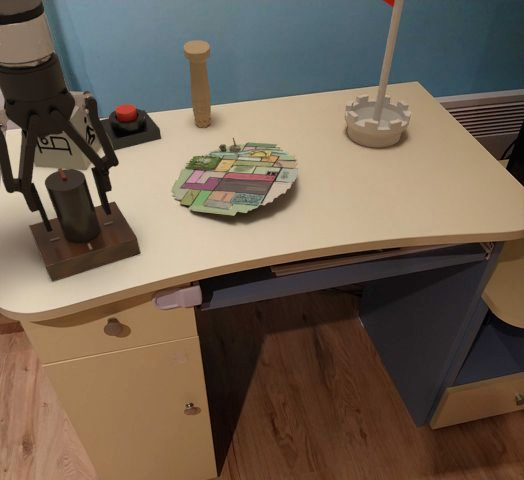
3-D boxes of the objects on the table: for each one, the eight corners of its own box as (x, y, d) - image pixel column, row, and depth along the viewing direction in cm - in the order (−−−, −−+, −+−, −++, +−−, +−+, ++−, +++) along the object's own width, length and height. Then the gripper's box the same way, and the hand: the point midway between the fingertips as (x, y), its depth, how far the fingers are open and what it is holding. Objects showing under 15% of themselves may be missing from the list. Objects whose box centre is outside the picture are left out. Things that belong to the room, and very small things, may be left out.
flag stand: (398, 118, 108) (437, -56, 84) (411, 149, 100) (459, -34, 76) (338, 119, 107) (361, -56, 84) (347, 150, 99) (375, -34, 76)
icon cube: (35, 166, 94) (15, 114, 87) (55, 140, 101) (38, 89, 93) (86, 170, 94) (71, 118, 86) (102, 143, 100) (90, 92, 92)
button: (114, 115, 100) (112, 106, 99) (133, 111, 101) (131, 102, 100) (120, 124, 98) (118, 115, 96) (140, 119, 99) (138, 110, 98)
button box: (100, 130, 103) (95, 111, 100) (146, 120, 106) (142, 101, 103) (114, 150, 98) (109, 131, 95) (161, 139, 101) (158, 119, 98)
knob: (105, 235, 77) (89, 182, 69) (69, 247, 75) (49, 193, 68) (94, 216, 80) (78, 163, 72) (59, 226, 78) (39, 173, 71)
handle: (191, 132, 103) (182, 53, 91) (192, 117, 107) (184, 40, 96) (214, 132, 103) (209, 53, 92) (214, 117, 107) (209, 40, 96)
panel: (52, 281, 75) (45, 265, 72) (35, 240, 81) (28, 224, 78) (140, 253, 79) (136, 237, 76) (118, 216, 85) (114, 200, 82)
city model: (180, 157, 101) (173, 128, 96) (295, 144, 99) (294, 114, 94) (167, 237, 85) (157, 207, 80) (303, 223, 83) (301, 192, 79)
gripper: (102, 29, 63) (136, 187, 81) (-78, 60, 57) (1, 224, 74) (120, 50, 59) (152, 212, 76) (-72, 85, 53) (10, 253, 70)
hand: (77, 217), depth 75 cm, fingers open, 8 cm apart
